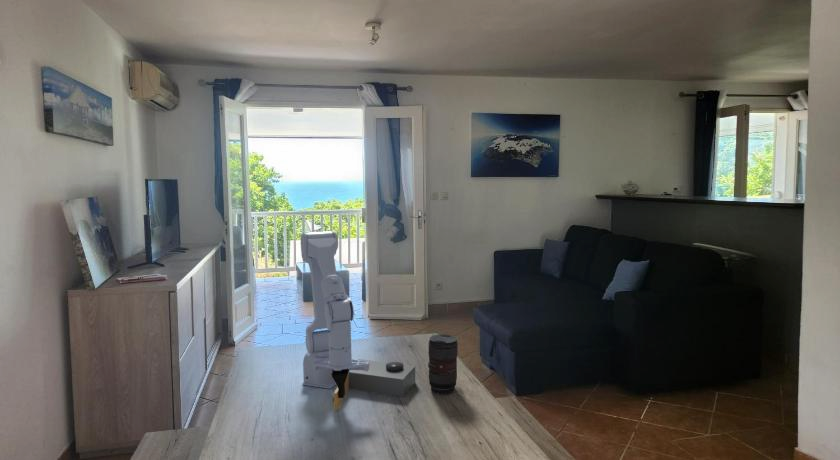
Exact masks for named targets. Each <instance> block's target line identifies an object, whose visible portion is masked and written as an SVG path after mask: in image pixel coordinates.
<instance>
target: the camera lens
mask: <svg viewBox="0 0 840 460" xmlns="http://www.w3.org/2000/svg"><path fill="white" fill-rule="evenodd" d="M458 349H459V347H458V339H457V337H456V336H454V335H450V334H443V333H442V334H441V333H440V334H434V335H431V336H429V341H428V360H429V361H428V362H427V366H428V367H427V368H428V381H429V382H428V383H429V386H430V391H431V392H432V393H434V394H436V395H449V394H452V393H454V392H455V389H456V385H457V378H458V369H457V367H458V361H457V360H458V352H459V351H458Z"/></svg>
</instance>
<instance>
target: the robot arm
mask: <svg viewBox="0 0 840 460" xmlns="http://www.w3.org/2000/svg"><path fill="white" fill-rule="evenodd" d="M338 248H339V238H338V234H337V232H336V231H335V230H331V231H330V230H329V231H313V232H311V231H310V232H306V231H305V232H302V233H301V235H300V253H301V259H302V261H303V262H304V263H307V264H308V267H309V271H310V282H311V292H312V294H311V295H312V305H313V316H314V319H313V320H312V321H311V322H310V323H309V324H308V325H307V327H306V328H305V345H306V346H305V347H306V353H305V354H304V357H303V361H302V371H303V382H302V385H303V386H310V387H316V388H321V389H323V388H324V389H329V390H330V389H333V388H334V387H335V386H337V387H338V398H344V396H345V385H344V384H345V381H346V378H347V375H348V373H349V370H364V371H368V370H369V361H359V360H358V359H352V355H353V354H352V326H351V325H352V323H351V322H352V321H353V320H354V316H355V315H354V312H355V311H354V305H353V301H352V300H351V298H350V296H349V295H347V293H346V289H345V284H344V282H343V278H342V277H341V276H339V275H338V273H337V270H336V269H337V268H336V263H335V256H336V254H337V250H338ZM324 329H325V330H324ZM337 387H336V388H337ZM345 397H346V396H345ZM344 399H345V398H344Z"/></svg>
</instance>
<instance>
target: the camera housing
mask: <svg viewBox="0 0 840 460" xmlns="http://www.w3.org/2000/svg"><path fill="white" fill-rule="evenodd" d="M357 360H359V361H369V370H368V371H364V370H349V390H354V391H360V392H366V393H371V394H382V395H388V396H395V397H401V398H403V397H404V396H405V395H406V394H407V393H408V392H409V391H410V390H411V388H412V387H413V386H414V385H415V384H416V366H415V365H409V364H403V362H400V361H391V362H385V361H377V360H368V359H361V358H358V359H357Z"/></svg>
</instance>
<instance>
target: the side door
mask: <svg viewBox="0 0 840 460" xmlns="http://www.w3.org/2000/svg"><path fill="white" fill-rule="evenodd" d="M344 385H345V396H344V398H338V387H336V389H335V390H334V392H333V397H332V402H333V411H334V412H338V411H339V409H340V407H341V405H342V403H343V401H344V399H345V397H346V396H347V394H348V392H349V391H350V389H349V373H348V375H347V378H346V381H345V384H344Z"/></svg>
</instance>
